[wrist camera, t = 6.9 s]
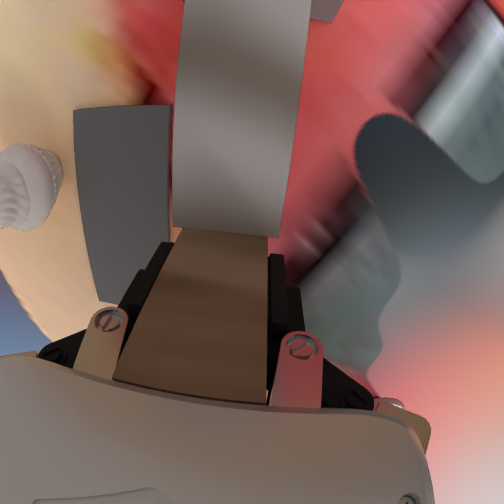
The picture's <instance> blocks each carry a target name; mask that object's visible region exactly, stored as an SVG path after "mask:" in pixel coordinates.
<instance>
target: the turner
mask: <svg viewBox="0 0 504 504" xmlns="http://www.w3.org/2000/svg"><path fill="white" fill-rule="evenodd" d="M310 9H311V0H185V6H184V13H183V20H182V28H181V36H180V45H179V54H178V65H177V77H176V90H175V105H174V125H173V158H172V212H173V227H181V228H183V229H182V231H181V233H180V234H179V236H178V238H177V240H176V242H175V244H174V246H173V248H172V249H171V251H170V253H169V255H168V257H167V259H166V261H165V263H164V265H163V267H162V269H161V271H160V273H159V275H158V277H157V279H156V281H155V283H154V285H153V287H152V289H151V291H150V293H149V295H148V297H147V299H146V301H145V303H144V305H143V308H142V310H141V312H140V314H139V316H138V318H137V320H136V323H135V325H134V327H133V329H132V331H131V334H130V336H129V338H128V340H127V343H126V345H125V347H124V349H123V352H122V354H121V356H120V359H119V361H118V363H117V366H116V368H115V371H114V373H113V375H112V379H113V381H117V382H121V383H125V384H129V385H133V386H137V387H142V388H146V389H151V390H156V391H161V392H166V393H171V394H176V395H182V396H188V397H194V398H201V399H208V400H215V401H223V402H232V403H241V404H252V405H264V406H265V405H266V380H267V280H268V237H274V238H279V232H280V226H281V219H282V213H283V207H284V201H285V194H286V188H287V182H288V175H289V169H290V162H291V155H292V148H293V142H294V135H295V128H296V121H297V113H298V106H299V99H300V91H301V84H302V76H303V68H304V60H305V52H306V44H307V36H308V27H309V18H310Z"/></svg>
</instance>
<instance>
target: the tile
mask: <svg viewBox="0 0 504 504" xmlns="http://www.w3.org/2000/svg"><path fill="white" fill-rule="evenodd" d="M343 1H344V0H311V9H310V18H309V19H314V20H319V21H324V22H329V23H332V21H333V19H334V17H335V15H336V14H337V12H338V10H339V8H340V7H341V5H342V3H343ZM183 2H184V4H185V0H183Z"/></svg>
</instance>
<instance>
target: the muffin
mask: <svg viewBox="0 0 504 504" xmlns="http://www.w3.org/2000/svg"><path fill="white" fill-rule="evenodd" d="M62 177H63V172H62V167H61V164H60V161H59V160H58V158H57V157H56V156H55V155H53V153H51V152H49V151H46V150H44V149H41V148H39V147H36V146H33V145H30V146H29V145H26V144H25V145H23V144H14V145H11V146H9V147H7V148H6V149H4V150H3V151H2V152H1V153H0V229H3V228H4V227H9V226H10V227H13V228H15V229H17V230H22V231H29V230H33V229H35V228H37V227H38V226H40V225H41V224H42V223H43V222H44V221H45V220H46V218H47V217H48V215H49V213H50V211H51V210H52V208H53V205H54V204H55V201H56V198H57V195H58V192H59V189H60V186H61V184H62V180H63V179H62Z"/></svg>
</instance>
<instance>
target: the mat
mask: <svg viewBox="0 0 504 504" xmlns="http://www.w3.org/2000/svg"><path fill="white" fill-rule="evenodd" d="M171 107H172V105H131V106H112V107H99V108H88V109H79V110H73V123H74V150H75V164H76V176H77V186H78V194H79V202H80V210H81V216H82V223H83V229H84V235H85V240H86V245H87V251H88V256H89V260H90V265H91V269H92V274H93V278H94V282H95V286H96V290H97V294H98V298H99V301H102V302H107V303H112V304H117V305H119V303H120V301H121V300H122V298H123V296H124V294H125V293H126V291H127V289H128V287H129V286H130V284H131V282H132V281H133V279H134V277H135V275H136V274H137V272H138V271H139V270H140V269H146V267H147V265H148V263H149V262H150V260H151V258H152V257H153V255H154V253H155V251H156V250H157V248H158V246H159V245H160V243H161V242H162V241H163V242H170V229H169V152H170V125H171Z"/></svg>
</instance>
